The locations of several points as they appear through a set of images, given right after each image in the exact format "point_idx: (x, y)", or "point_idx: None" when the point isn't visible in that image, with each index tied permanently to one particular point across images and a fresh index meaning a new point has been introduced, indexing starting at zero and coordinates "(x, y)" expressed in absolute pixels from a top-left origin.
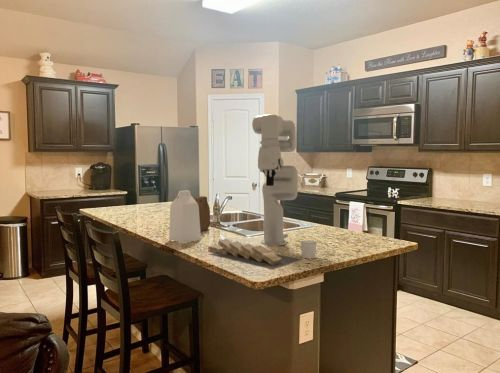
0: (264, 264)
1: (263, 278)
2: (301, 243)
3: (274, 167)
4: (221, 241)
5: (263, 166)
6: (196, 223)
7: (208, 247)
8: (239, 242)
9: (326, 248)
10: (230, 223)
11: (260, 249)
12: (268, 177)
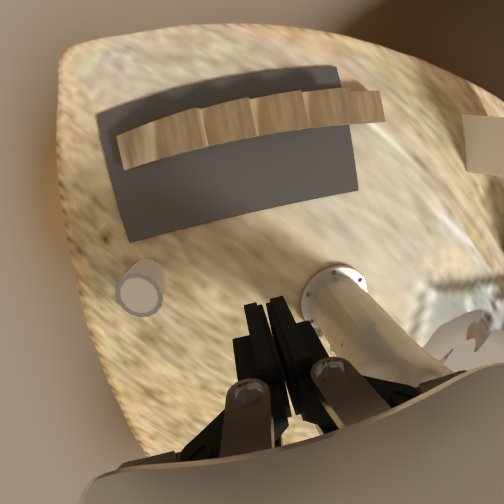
0: (143, 120)
1: (71, 70)
2: (142, 273)
3: (83, 490)
4: (342, 91)
5: (413, 452)
6: (499, 164)
7: (376, 91)
8: (299, 128)
9: (205, 367)
10: (498, 318)
11: (176, 129)
12: (267, 360)
